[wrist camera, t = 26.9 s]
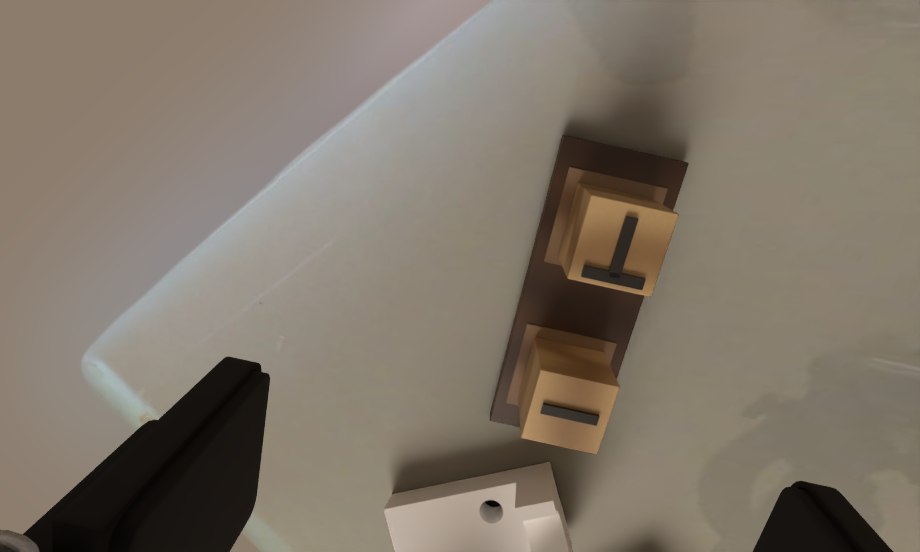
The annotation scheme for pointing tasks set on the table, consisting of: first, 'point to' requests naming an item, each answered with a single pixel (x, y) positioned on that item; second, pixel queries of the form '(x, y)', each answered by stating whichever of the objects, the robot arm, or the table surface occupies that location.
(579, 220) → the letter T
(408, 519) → the bracket
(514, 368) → the dark brown wooden board
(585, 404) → the letter I
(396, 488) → the table surface
